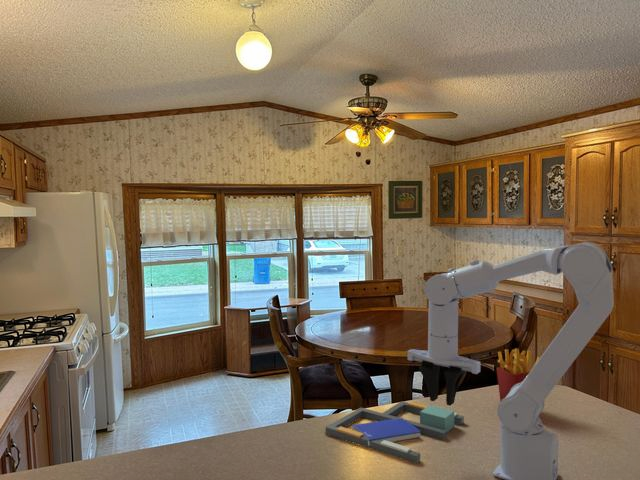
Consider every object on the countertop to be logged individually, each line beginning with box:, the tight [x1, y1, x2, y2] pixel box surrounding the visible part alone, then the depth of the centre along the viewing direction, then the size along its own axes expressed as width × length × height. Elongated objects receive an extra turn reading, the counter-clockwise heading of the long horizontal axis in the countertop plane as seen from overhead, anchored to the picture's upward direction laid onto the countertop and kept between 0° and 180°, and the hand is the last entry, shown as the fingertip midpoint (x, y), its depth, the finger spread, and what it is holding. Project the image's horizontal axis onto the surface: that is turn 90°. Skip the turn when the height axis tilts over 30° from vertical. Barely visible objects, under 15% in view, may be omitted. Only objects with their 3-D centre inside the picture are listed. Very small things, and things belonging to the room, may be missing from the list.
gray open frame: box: [325, 407, 448, 464], centre depth 104 cm, size 22×14×2 cm, turn 52°
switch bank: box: [382, 400, 465, 426], centre depth 111 cm, size 16×10×2 cm, turn 52°
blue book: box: [351, 417, 422, 446], centre depth 104 cm, size 2×8×12 cm
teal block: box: [419, 404, 455, 433], centre depth 108 cm, size 6×5×4 cm
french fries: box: [496, 347, 541, 403], centre depth 119 cm, size 9×8×15 cm
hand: (442, 401), depth 96 cm, fingers open, 3 cm apart
